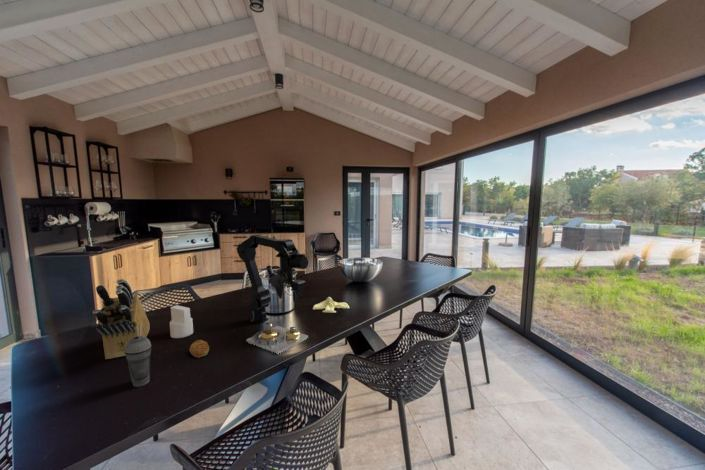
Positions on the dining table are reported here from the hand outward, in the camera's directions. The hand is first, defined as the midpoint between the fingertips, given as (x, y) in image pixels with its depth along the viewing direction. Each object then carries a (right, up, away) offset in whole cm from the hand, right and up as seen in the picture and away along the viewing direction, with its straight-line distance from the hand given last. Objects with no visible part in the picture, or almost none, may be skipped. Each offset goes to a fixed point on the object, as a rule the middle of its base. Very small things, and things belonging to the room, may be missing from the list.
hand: (287, 300), depth 143 cm
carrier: (-2, -14, -12) cm, 19 cm away
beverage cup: (-39, -18, -42) cm, 60 cm away
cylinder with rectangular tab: (-46, -14, -4) cm, 49 cm away
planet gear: (-5, -13, -12) cm, 19 cm away
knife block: (-61, -16, -18) cm, 66 cm away
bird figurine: (+17, -10, +30) cm, 36 cm away
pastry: (-30, -16, -21) cm, 40 cm away
